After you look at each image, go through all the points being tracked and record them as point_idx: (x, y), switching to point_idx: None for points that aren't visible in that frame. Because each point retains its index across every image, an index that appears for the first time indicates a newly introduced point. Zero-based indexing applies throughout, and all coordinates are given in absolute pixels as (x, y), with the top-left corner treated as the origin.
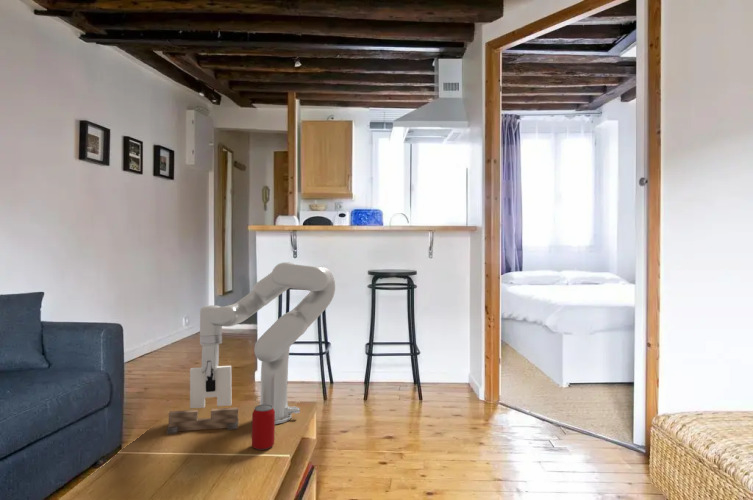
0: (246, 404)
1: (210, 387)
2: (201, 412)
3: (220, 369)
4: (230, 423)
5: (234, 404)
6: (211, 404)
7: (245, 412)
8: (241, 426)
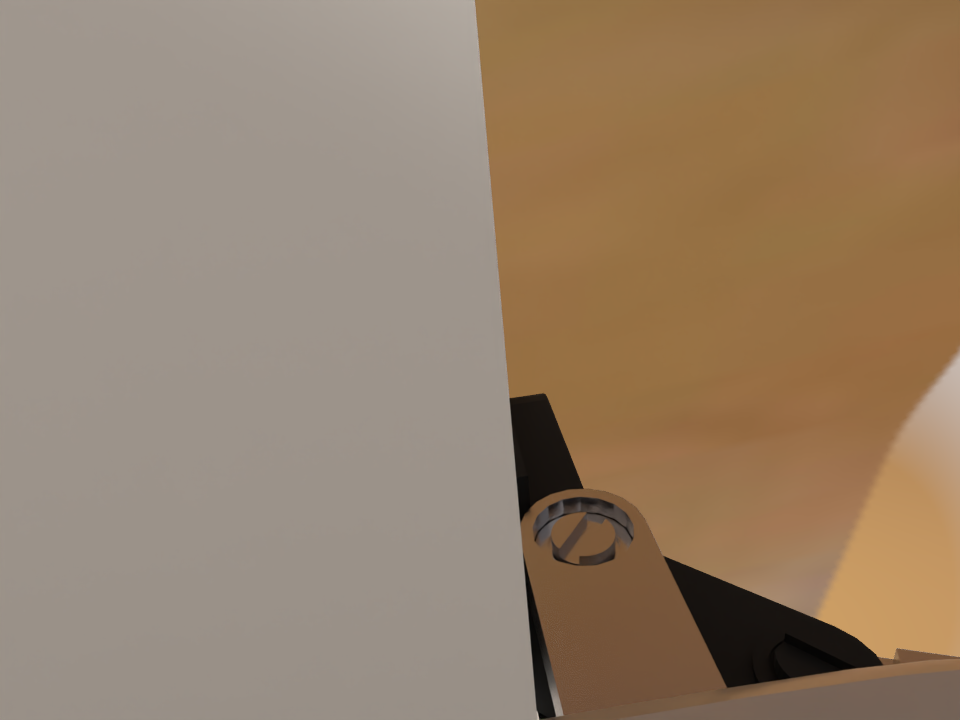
0: (783, 487)
1: None
2: (595, 30)
3: None
4: None
5: (823, 374)
6: (927, 85)
7: None
8: None
